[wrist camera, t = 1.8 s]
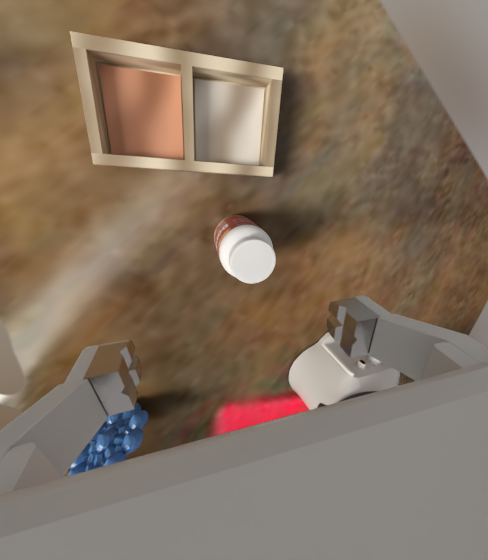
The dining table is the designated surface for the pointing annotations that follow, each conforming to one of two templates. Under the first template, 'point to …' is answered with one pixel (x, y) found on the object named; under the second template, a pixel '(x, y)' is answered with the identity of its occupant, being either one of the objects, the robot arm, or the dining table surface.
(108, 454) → the grapes
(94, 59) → the tray
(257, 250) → the pill bottle
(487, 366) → the robot arm
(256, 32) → the dining table surface
